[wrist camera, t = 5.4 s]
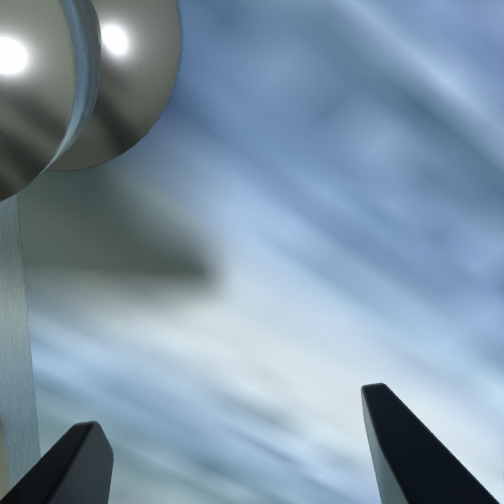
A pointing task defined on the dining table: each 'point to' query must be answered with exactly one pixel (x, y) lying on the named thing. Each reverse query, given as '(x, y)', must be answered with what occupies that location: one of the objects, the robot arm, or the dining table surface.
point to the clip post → (128, 77)
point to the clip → (25, 171)
